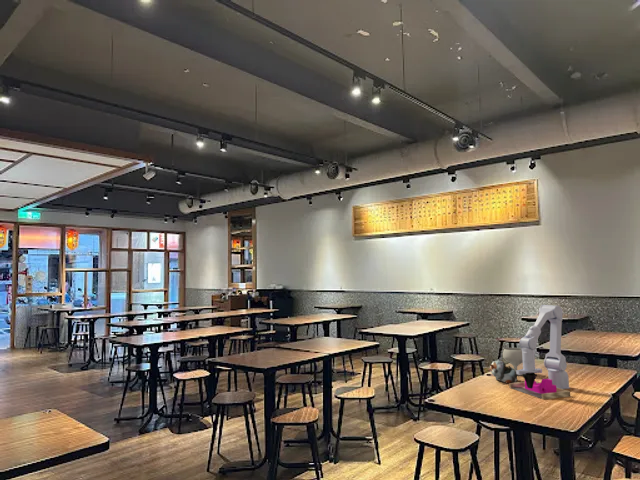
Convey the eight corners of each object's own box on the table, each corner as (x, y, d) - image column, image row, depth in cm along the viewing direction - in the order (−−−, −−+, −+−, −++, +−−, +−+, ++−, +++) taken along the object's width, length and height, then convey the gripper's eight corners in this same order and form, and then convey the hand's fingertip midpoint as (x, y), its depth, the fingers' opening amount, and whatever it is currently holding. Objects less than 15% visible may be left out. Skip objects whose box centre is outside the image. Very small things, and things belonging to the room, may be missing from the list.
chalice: (513, 370, 284) (512, 346, 285) (533, 374, 272) (531, 349, 273) (498, 373, 277) (497, 348, 278) (518, 377, 265) (517, 351, 266)
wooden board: (534, 385, 245) (534, 380, 245) (570, 396, 222) (570, 391, 222) (509, 387, 240) (509, 383, 240) (543, 399, 217) (543, 394, 217)
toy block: (556, 394, 225) (555, 379, 225) (546, 395, 223) (545, 380, 224) (534, 387, 239) (533, 373, 240) (525, 388, 237) (524, 374, 238)
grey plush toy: (515, 385, 246) (501, 362, 248) (496, 390, 254) (482, 368, 255) (521, 372, 258) (508, 351, 259) (503, 377, 265) (490, 357, 267)
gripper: (522, 363, 225) (523, 390, 224) (546, 361, 229) (547, 388, 228) (512, 360, 232) (514, 387, 231) (535, 359, 236) (537, 385, 235)
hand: (530, 387), depth 230 cm, fingers closed
